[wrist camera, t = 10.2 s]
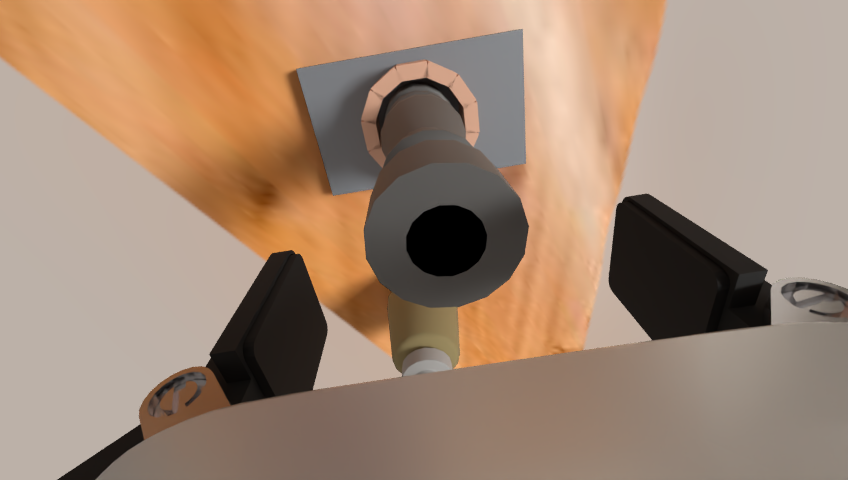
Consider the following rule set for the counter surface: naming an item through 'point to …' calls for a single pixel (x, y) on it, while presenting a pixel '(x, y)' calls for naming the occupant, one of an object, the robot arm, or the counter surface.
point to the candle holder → (439, 207)
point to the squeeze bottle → (422, 337)
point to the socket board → (385, 73)
